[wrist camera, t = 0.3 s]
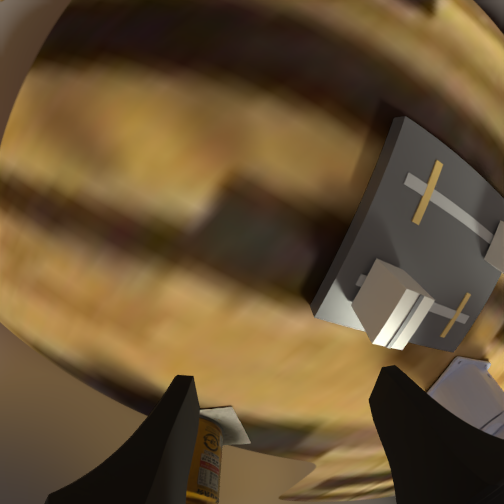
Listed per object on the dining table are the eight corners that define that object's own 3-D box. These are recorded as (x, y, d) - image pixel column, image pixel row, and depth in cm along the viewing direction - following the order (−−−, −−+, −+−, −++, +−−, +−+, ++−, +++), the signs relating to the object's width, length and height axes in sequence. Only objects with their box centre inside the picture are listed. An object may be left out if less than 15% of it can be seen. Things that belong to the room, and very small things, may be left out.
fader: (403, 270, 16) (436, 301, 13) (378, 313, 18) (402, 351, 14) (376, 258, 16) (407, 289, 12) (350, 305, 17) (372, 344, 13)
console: (512, 216, 17) (524, 221, 15) (446, 343, 21) (454, 353, 20) (394, 117, 15) (406, 116, 13) (309, 305, 19) (314, 318, 18)
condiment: (152, 410, 24) (126, 509, 13) (232, 405, 23) (226, 521, 12) (181, 444, 26) (167, 529, 15) (251, 440, 26) (251, 534, 15)
